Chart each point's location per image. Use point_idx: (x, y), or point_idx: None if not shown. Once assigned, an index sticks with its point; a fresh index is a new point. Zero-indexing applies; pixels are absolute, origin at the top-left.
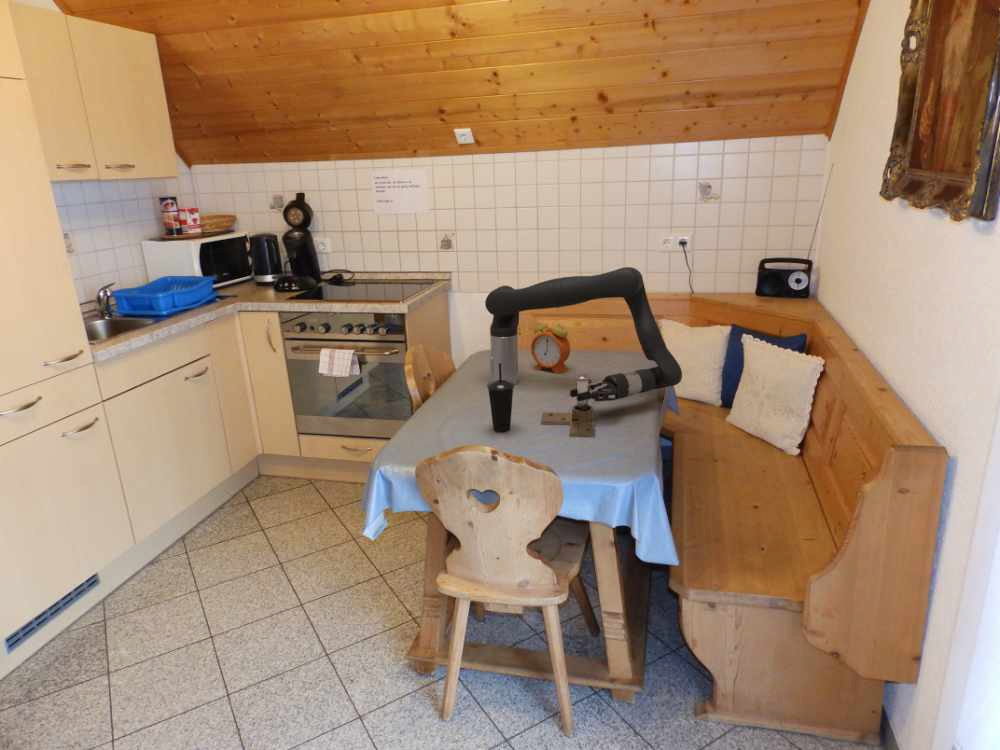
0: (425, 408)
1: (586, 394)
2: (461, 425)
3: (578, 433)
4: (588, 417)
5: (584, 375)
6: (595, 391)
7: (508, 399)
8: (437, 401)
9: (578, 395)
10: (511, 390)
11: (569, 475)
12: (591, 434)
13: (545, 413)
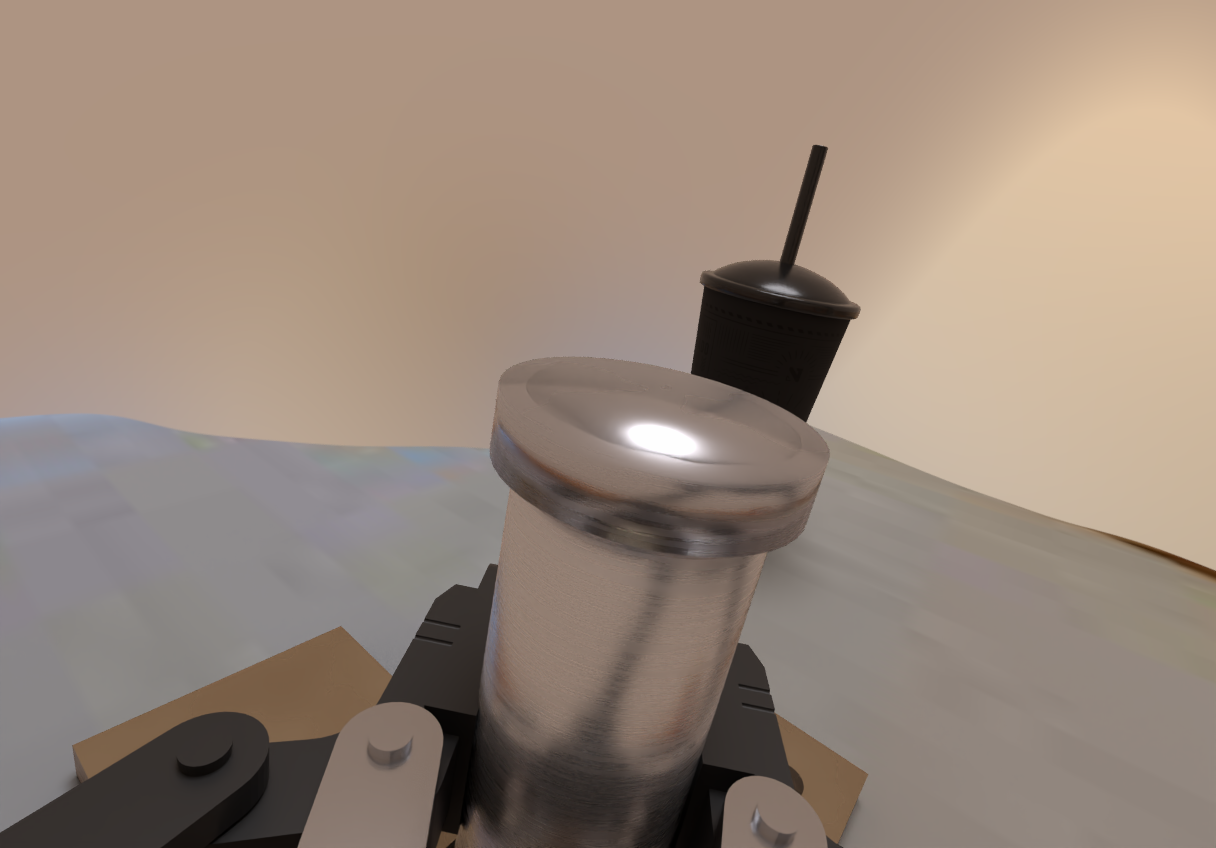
0: (1048, 520)
1: (420, 659)
2: (823, 494)
3: (263, 661)
4: None
5: (686, 432)
6: (305, 843)
7: (698, 347)
8: (1156, 571)
9: (489, 570)
10: (718, 304)
11: (91, 415)
12: (118, 732)
13: (829, 772)
